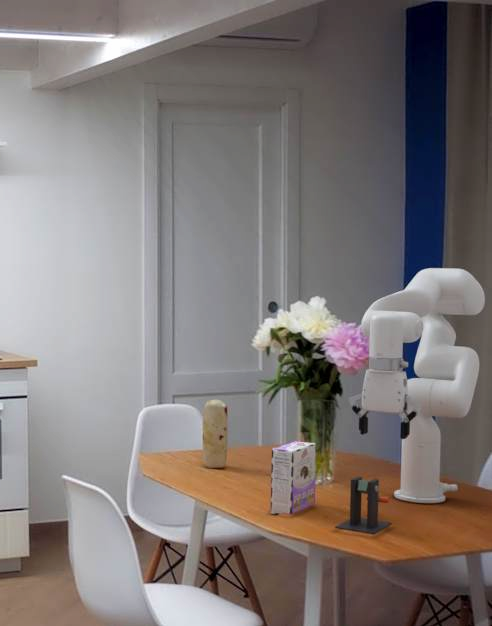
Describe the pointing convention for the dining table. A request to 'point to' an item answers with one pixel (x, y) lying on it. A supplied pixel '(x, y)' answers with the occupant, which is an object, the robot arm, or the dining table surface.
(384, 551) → the dining table surface
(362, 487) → the switch lever
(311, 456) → the candy box
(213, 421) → the food model
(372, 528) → the two-post lever stand
